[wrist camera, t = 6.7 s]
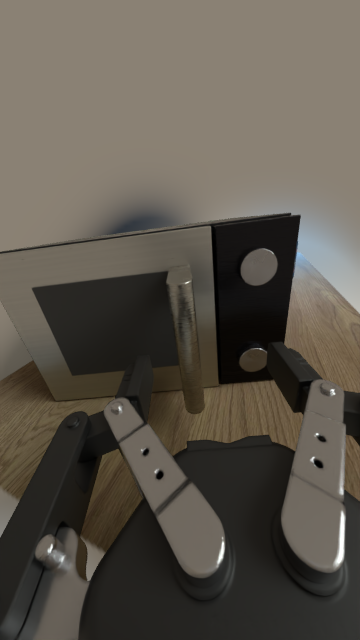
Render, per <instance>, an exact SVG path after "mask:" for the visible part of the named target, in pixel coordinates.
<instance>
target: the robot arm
mask: <svg viewBox="0 0 360 640" xmlns="http://www.w3.org/2000/svg"><path fill="white" fill-rule="evenodd" d="M267 368H268V371H269V372H270V374H271V376H272V377H273V379H274V381H275V382H276V384H277V386H278V387H279V389H280V391H281V392H282V394H283V396H284V397H285V399H286V401H287V402H288V404H289V406H290V407H291V409H292V411H293V412H294V413H297V412H302V414H303V415H304V416H303V421H302V425H301V430H300V434H299V438H298V443H297V447H296V451H293V450H292V449H290V448H288V447H286V446H284V445H281V444H278V443H275V442H272V441H271V439H270V436H269V435H260V436H248V437H245V438H243V439H240V440H237V441H234V442H232V443H223V442H217V441H212V440H196V441H187V448H186V449H183V450H182V451H180V452H178V453H177V454H175V455H174V456H173V457H172V456H171V454H170V453H169V451H168V450H167V449H166V447H165V446H164V444H163V443H162V442H161V440H160V439H159V437H158V436H157V435H156V433H155V432H154V430H153V429H152V428H151V426H150V425H149V424H148V423H147V419H148V413H149V407H150V400H151V394H152V388H153V382H154V374H153V369H152V365H151V360H150V356H149V355H141V356H137V359H136V362H135V364H130V365H129V366H128V367H127V368H126V370H125V372H124V375H123V378H122V381H121V383H120V386H119V389H118V391H117V394H116V397H115V399H114V400H112V401H111V402H109V403H108V404H107V405H106V407H105V409H104V410H103V411H101V412H99V413H96V414H93V415H91V416H88V415H87V413H85V412H83V411H78V412H75V413H72V414H70V415H69V416H67V417H66V418H65V419H64V420H63V421H62V422H61V424H60V426H59V428H58V429H57V431H56V433H55V435H54V437H53V439H52V441H51V443H50V445H49V447H48V448H47V450H46V452H45V454H44V456H43V458H42V460H41V462H40V464H39V465H38V467H37V469H36V471H35V473H34V475H33V477H32V479H31V481H30V483H29V484H28V486H27V488H26V490H25V492H24V494H23V496H22V498H21V500H20V501H19V503H18V505H17V507H16V509H15V511H14V513H13V515H12V517H11V519H10V520H9V522H8V524H7V526H6V528H5V530H4V532H3V534H2V536H1V537H0V640H360V501H358V500H357V499H356V498H355V497H353V496H352V495H351V494H349V493H348V492H347V491H346V490H344V473H345V442H346V435H351V436H353V438H354V439H355V440H356V442H357V443H358V444H359V446H360V393H355V392H348V391H343V390H342V389H341V387H339V386H338V385H337V384H335V383H333V382H331V381H327V380H323V379H322V378H321V377H320V376H319V374H318V373H317V372H316V371H315V370H314V369H313V368H312V367H311V366H310V365H309V364H308V362H307V361H306V360H305V359H304V358H303V357H302V356H301V355H300V354H299V353H298V352H296V351H295V350H293V349H291V348H290V349H288V348H287V347H286V346H285V345H284V344H283V343H282V342H273V343H269V344H268V350H267ZM118 448H119V451H120V453H121V455H122V457H123V459H124V461H125V463H126V465H127V467H128V469H129V471H130V473H131V475H132V478H133V480H134V482H135V484H136V486H137V488H138V491H139V493H140V495H141V497H142V500H141V502H140V503H139V505H138V506H137V508H136V509H135V511H134V512H133V514H132V515H131V516H130V518H129V519H128V521H127V522H126V524H125V525H124V527H123V528H122V530H121V531H120V533H119V534H118V536H117V537H116V539H115V540H114V542H113V543H112V545H111V546H110V548H109V549H108V550H107V552H106V553H105V555H104V556H103V558H102V559H101V561H100V563H99V564H98V566H97V568H96V570H95V572H94V573H93V576H92V578H91V580H90V581H87V578H86V563H87V547H86V545H85V543H84V542H83V540H82V539H81V538H80V534H81V531H82V527H83V524H84V520H85V516H86V513H87V509H88V505H89V502H90V498H91V495H92V491H93V487H94V484H95V480H96V476H97V473H98V469H99V465H100V462H101V458H102V455H104V454H106V453H109V452H111V451H113V450H116V449H118Z"/></svg>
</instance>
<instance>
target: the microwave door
mask: <svg viewBox="0 0 360 640" xmlns="http://www.w3.org/2000/svg"><path fill="white" fill-rule="evenodd" d="M0 301H1V302H2V304H3V306H4V308H5V310H6V312H7V313H8V315H9V317H10V319H11V320H12V322H13V324H14V326H15V328H16V329H17V331H18V333H19V335H20V337H21V339H22V341H23V342H24V344H25V346H26V347H27V350H28V351H29V353H30V355H31V357H32V359H33V360H34V362H35V364H36V366H37V368H38V369H39V371H40V373H41V375H42V377H43V378H44V380H45V382H46V384H47V386H48V388H49V389H50V391H51V393H52V395H53V397H54V398H55V400H56V401H62V400H73V399H84V398H94V397H105V396H116V394H117V391H118V389H119V386H120V383H121V381H122V378H123V375H124V372H125V370H126V368H127V367H128V366H129V365H130V364H135V362H136V359H137V356H141V355H149V356H150V360H151V365H152V369H153V374H154V382H153V388H152V392H159V391H170V390H180V389H183V395H184V401H185V408H186V410H187V411H188V412H189V413H191V414H198V413H201V412H202V411H203V410H204V407H205V404H204V393H203V387H213V386H219V382H218V361H217V341H216V320H215V299H214V279H213V258H212V237H211V226H204V227H196V228H189V229H182V230H174V231H167V232H159V233H152V234H144V235H137V236H129V237H122V238H115V239H107V240H100V241H92V242H85V243H77V244H70V245H62V246H55V247H48V248H40V249H33V250H25V251H18V252H10V253H3V254H0Z"/></svg>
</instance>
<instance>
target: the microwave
mask: <svg viewBox="0 0 360 640" xmlns="http://www.w3.org/2000/svg"><path fill="white" fill-rule="evenodd" d="M300 217H301V216H300V215H291V213H284V214H273V215H263V216H251V217H240V218H230V219H224V220H216V221H208V222H201V223H194V224H186V225H179V226H171V227H165V228H157V229H149V230H143V231H134V232H127V233H120V234H112V235H105V236H97V237H90V238H84V239H78V240H71V241H65V242H59V243H52V244H46V245H40V246H34V247H27V248H21V249H15V250H9V251H2V252H0V254H3V253H10V252H18V251H25V250H33V249H40V248H48V247H55V246H62V245H70V244H77V243H85V242H92V241H100V240H107V239H115V238H122V237H129V236H137V235H144V234H152V233H159V232H167V231H174V230H182V229H189V228H196V227H204V226H211V237H212V258H213V279H214V299H215V320H216V341H217V361H218V376H220V379H221V383H222V384H225V383H235V382H246V381H257V380H268V379H273V377H272V376H271V374H270V372H269V371H268V368H267V350H268V344H269V343H273V342H282V343H283V344H284V341H285V333H286V325H287V318H288V310H289V302H290V294H291V286H292V279H293V271H294V263H295V255H296V248H297V240H298V232H299V224H300Z"/></svg>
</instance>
